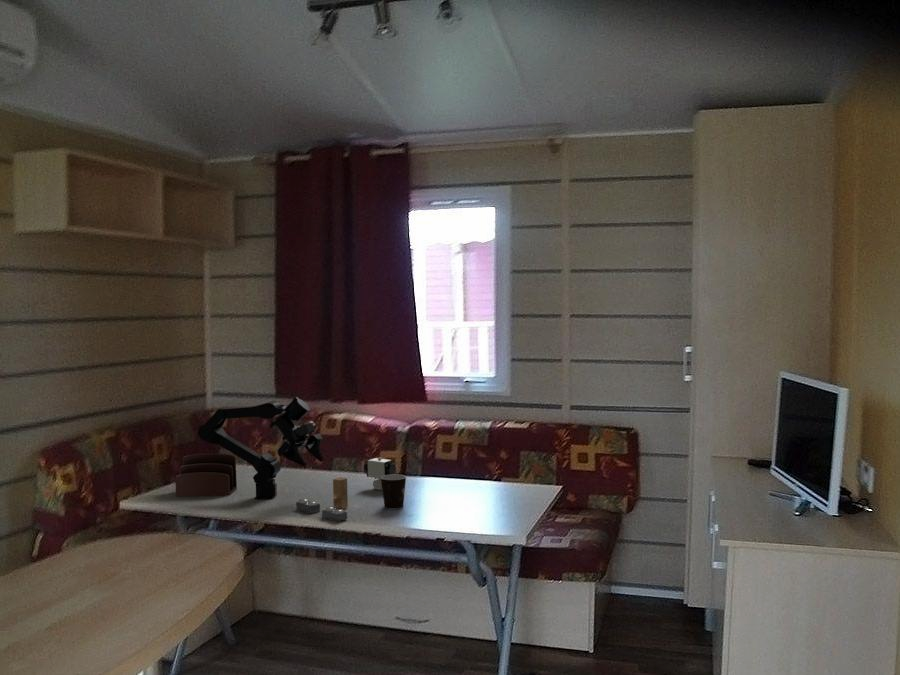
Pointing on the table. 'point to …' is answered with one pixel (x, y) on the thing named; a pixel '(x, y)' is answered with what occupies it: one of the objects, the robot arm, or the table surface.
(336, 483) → the tall brown post
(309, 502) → the chain ends
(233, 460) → the letter holder
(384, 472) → the pneumatic valve
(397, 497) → the coffee mug
